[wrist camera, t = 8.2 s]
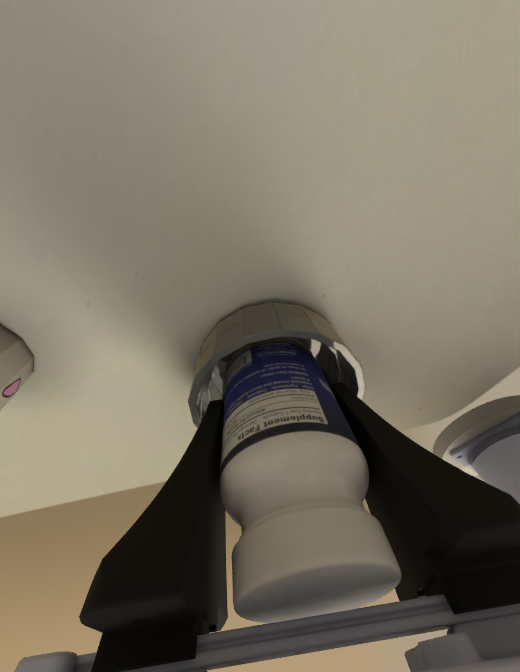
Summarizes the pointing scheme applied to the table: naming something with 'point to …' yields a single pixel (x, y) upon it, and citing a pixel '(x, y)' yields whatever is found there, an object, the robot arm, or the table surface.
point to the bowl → (263, 326)
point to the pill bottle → (296, 491)
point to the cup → (13, 364)
